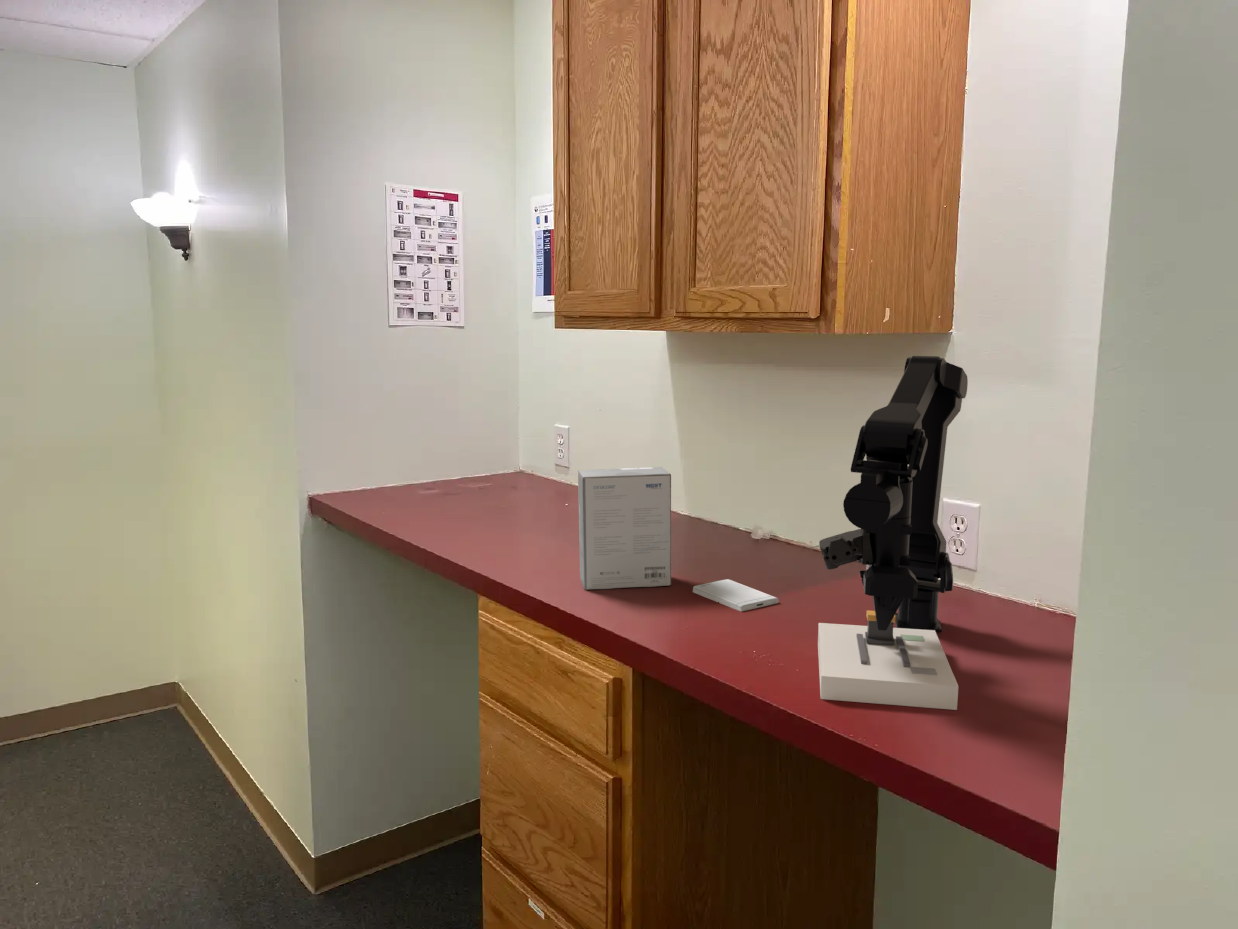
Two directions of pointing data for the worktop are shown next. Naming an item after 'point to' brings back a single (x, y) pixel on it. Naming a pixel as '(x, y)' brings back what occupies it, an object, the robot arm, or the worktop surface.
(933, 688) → the breaker box
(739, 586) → the hard drive
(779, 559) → the worktop surface
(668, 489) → the hard drive box
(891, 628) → the breaker toggle
